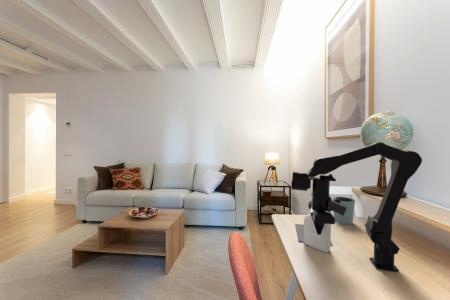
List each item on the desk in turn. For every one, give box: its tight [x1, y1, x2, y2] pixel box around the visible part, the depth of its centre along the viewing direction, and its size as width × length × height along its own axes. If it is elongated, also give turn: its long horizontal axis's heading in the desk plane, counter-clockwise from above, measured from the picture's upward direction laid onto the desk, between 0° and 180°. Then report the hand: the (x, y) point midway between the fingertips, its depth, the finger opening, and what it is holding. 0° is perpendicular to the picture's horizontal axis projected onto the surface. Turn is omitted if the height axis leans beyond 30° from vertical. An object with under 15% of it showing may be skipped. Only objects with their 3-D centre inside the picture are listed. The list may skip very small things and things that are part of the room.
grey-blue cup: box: [332, 196, 356, 226], centre depth 117 cm, size 10×10×12 cm
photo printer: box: [303, 214, 332, 253], centre depth 88 cm, size 10×4×12 cm, turn 39°
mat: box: [294, 223, 334, 247], centre depth 101 cm, size 20×13×1 cm, turn 166°
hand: (319, 234), depth 82 cm, fingers closed
